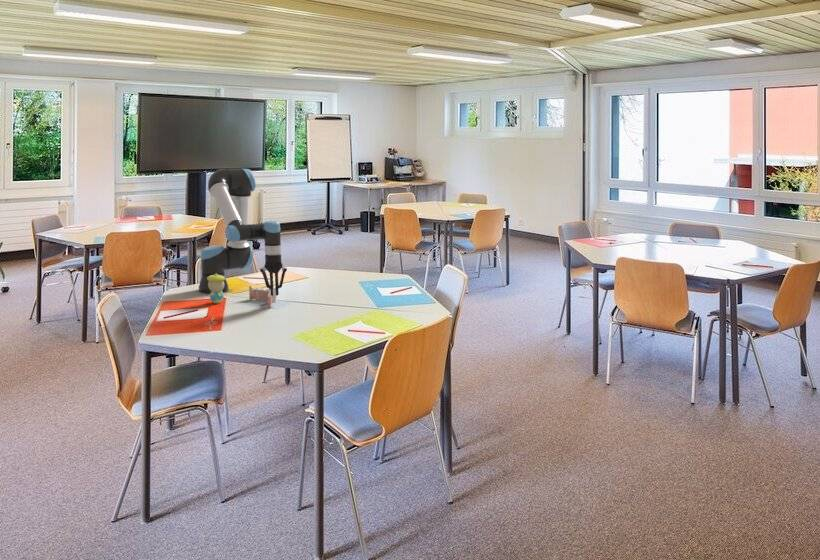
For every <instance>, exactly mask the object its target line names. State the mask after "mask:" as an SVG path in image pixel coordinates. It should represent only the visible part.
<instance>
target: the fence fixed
mask: <svg viewBox="0 0 820 560" xmlns="http://www.w3.org/2000/svg"><path fill="white" fill-rule="evenodd" d="M273 288H275V287H273ZM270 290H271V289H270V288H266V289H265V288H264V287H263V288H261V289H260V288H259V287H256V288H255V287H254V286H253V285H249V286H248V291H249V292H248V295H249V296H248V297H249V300H250V301H253V300H264V301H268V294H269V292H270ZM272 302H273V296H272Z"/></svg>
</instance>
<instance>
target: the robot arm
mask: <svg viewBox="0 0 820 560" xmlns="http://www.w3.org/2000/svg"><path fill="white" fill-rule="evenodd" d="M256 184H257V183H256V179H255V175H254V172H252V170H251V169H249V168H220V169H216V170H215V171H214V172H212V173H211V175H210V177H209V179H208V182H207V189H208V191H209V194H210V196H211V197H213V198H214V200H215V202H216V205H217V207H218V209H219V211H220V214H221V216H222V218H223V220H224V222H225V224H226V227H225V229H224V234H225V239H226V241H228V242H227V244H226V247H224V246H223V245H222V244H221V245H211V246H206V247H204V248H202V249H201V251H200V264H201V265H200V266H201V270H200V271H201V278H200V280H199V285H198V291H199V293H203V294H210V293H211V290H210V289H209V287H208V282H209V281H208V280H207V277H208V276H210V275H215V274H217V275H222V276H224V277H225V280H224V288H223V290H222V292H223V293H225V292H228V291H229V284H228V281H227V279H226V275H225V273H226V272H225V271H227V270H239V269H246V268H250V266H251V265H252V264H253V259H254V251H253V248H252V246H250V243H249V242H248V241H260V240H264V253H265V256H264V257H265V258H264V260H265V261H264V266H263V267H261V268H260V269H259V271H260V273H262V276H263V281H264V283H265V286H266V289H269V288H270V289H271V296H273V303H276V302H277V301H278V299H277V297H278V296H279V289H281V288H282V287H283V283H284V279H285V274H286V272H287V270H288V268H287V267H285V266H283V263H282V254H281V253H282V243H281V240H282V239H281V224H280V222H279V221H277V220H268V221H264V222H258V223H252V224H251V223H250V224H248V208H249V207H248V205H249V202H248V201H249V198H250V197H251V196H252V192H254V191H255V190H256V186H257V185H256ZM266 271H267V272H268V273H269V278H268V275H267V272H266ZM280 271H282V272H281V278H280V281H279V273H280ZM274 280H275V281H274ZM274 282H275V283H274ZM274 285H275V287H274ZM273 287H274V288H273Z"/></svg>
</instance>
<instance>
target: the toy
mask: <svg viewBox="0 0 820 560" xmlns="http://www.w3.org/2000/svg"><path fill="white" fill-rule="evenodd" d="M225 278H226V276H225V277H224V276H222V275H217V274H215V275H210V276H208V277H207V280H208V281H209V282H208V287H209V289H210V290H211V293H209V299H210V301H211V302H212V303H213V304H215V305H216V304H217V305H218V304H220V303H221V302H222V301H223V299H224V292H222V290H223V288H224V280H225Z"/></svg>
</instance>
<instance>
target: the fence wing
mask: <svg viewBox="0 0 820 560" xmlns="http://www.w3.org/2000/svg"><path fill="white" fill-rule="evenodd" d="M271 304H272V296H271V290H270V292H269V294H268V307H271Z"/></svg>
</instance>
